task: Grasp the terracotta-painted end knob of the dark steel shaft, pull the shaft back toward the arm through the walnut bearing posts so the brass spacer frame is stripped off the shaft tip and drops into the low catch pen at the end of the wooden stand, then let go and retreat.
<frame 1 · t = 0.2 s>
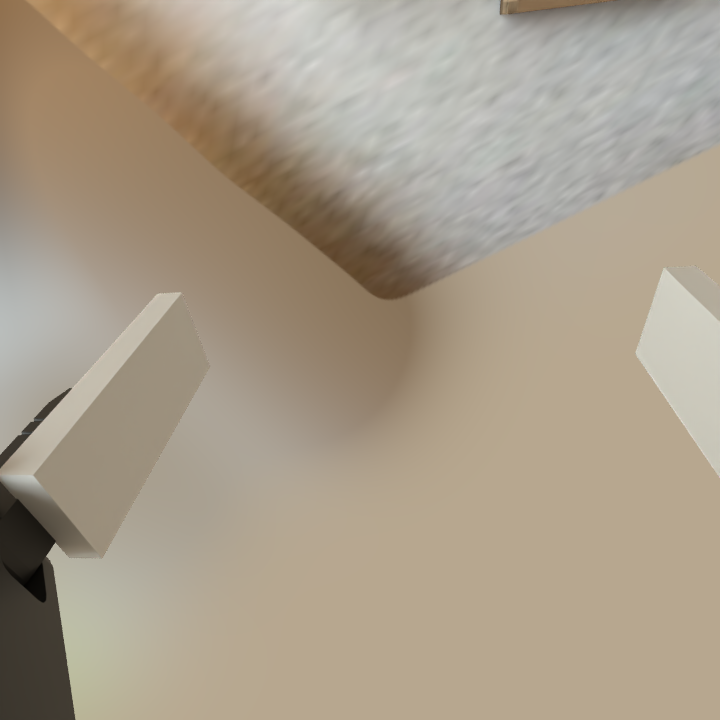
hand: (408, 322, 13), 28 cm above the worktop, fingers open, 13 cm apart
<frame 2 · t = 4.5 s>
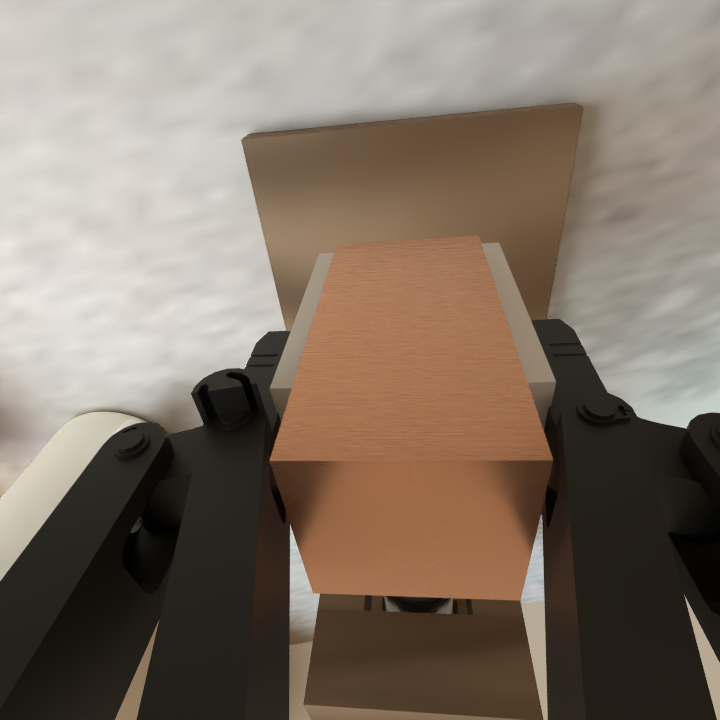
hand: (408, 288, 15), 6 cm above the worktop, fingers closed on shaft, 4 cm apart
shaft: (417, 573, 16), point 10 cm above the worktop, slide at 0.0 cm, touching gripper, spacer
wooden stand: (413, 386, 24), on the worktop
mug: (137, 436, 29), on the worktop
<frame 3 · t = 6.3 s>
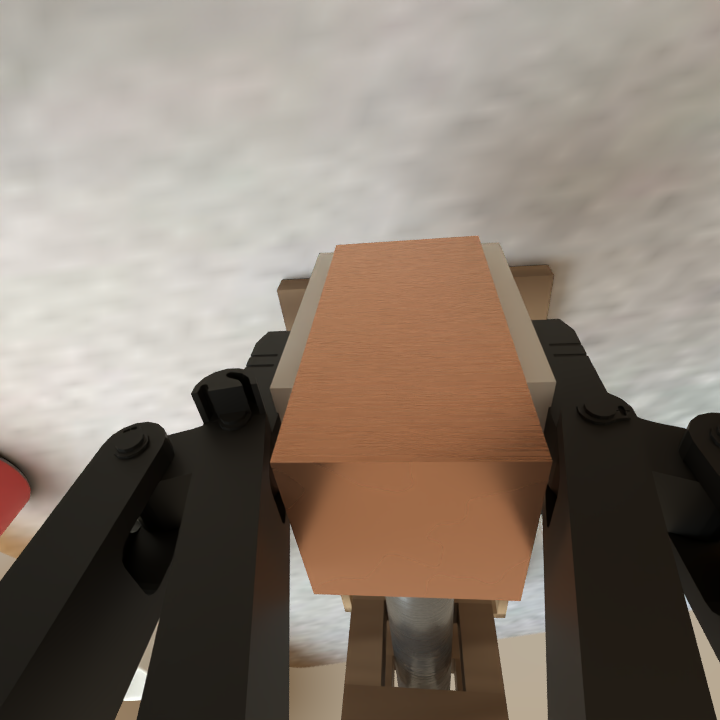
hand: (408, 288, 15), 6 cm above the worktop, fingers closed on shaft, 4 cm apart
shaft: (418, 573, 16), point 10 cm above the worktop, slide at 6.2 cm, touching gripper
wooden stand: (417, 461, 28), on the worktop
mug: (172, 496, 33), on the worktop
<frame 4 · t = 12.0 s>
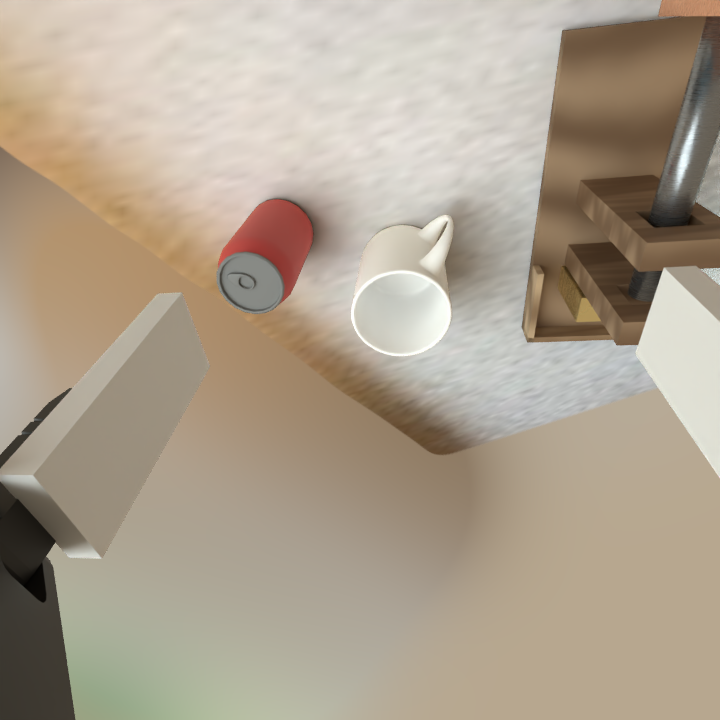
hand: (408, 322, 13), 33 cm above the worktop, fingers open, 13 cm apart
shaft: (687, 143, 29), point 10 cm above the worktop, slide at 6.5 cm
wooden stand: (606, 196, 41), on the worktop
beer can: (282, 228, 46), on the worktop
spacer: (604, 291, 42), point 4 cm above the worktop, touching wooden stand
mug: (411, 248, 46), on the worktop
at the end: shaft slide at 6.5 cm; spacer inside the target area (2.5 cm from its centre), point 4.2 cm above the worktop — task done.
